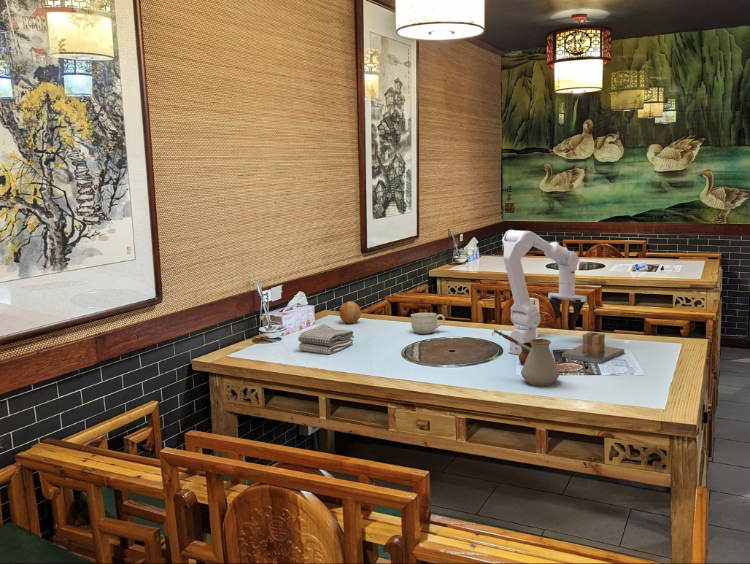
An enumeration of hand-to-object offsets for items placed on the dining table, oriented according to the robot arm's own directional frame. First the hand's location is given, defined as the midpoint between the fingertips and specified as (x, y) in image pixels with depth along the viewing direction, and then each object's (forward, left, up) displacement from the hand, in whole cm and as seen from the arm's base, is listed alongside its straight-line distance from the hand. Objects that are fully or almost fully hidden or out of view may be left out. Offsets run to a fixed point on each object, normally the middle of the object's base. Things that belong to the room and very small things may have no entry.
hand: (566, 318), depth 251 cm
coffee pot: (-50, -14, -10) cm, 53 cm away
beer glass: (+2, +17, -10) cm, 20 cm away
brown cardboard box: (-10, -16, -8) cm, 20 cm away
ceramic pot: (-32, -5, -10) cm, 34 cm away
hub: (-10, -16, -9) cm, 21 cm away
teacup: (-17, +54, -10) cm, 57 cm away
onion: (-23, +95, -10) cm, 98 cm away
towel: (-61, +67, -10) cm, 91 cm away
